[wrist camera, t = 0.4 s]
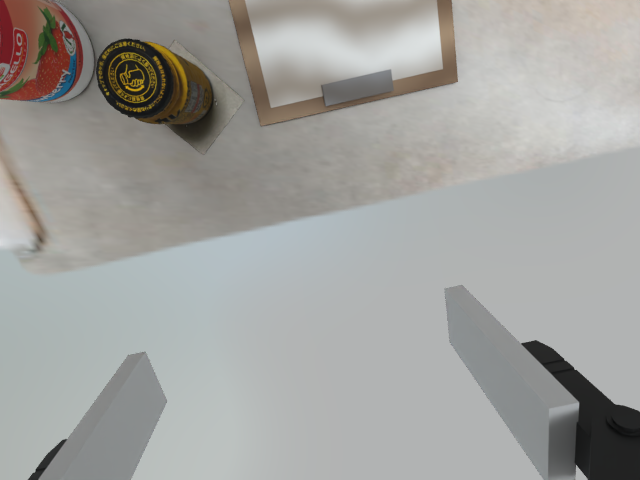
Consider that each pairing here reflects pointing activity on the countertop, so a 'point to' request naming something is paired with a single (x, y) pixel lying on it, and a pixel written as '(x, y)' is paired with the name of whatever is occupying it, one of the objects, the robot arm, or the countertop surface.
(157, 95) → the condiment
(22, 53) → the fruit juice
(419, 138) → the countertop surface
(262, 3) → the clipboard
